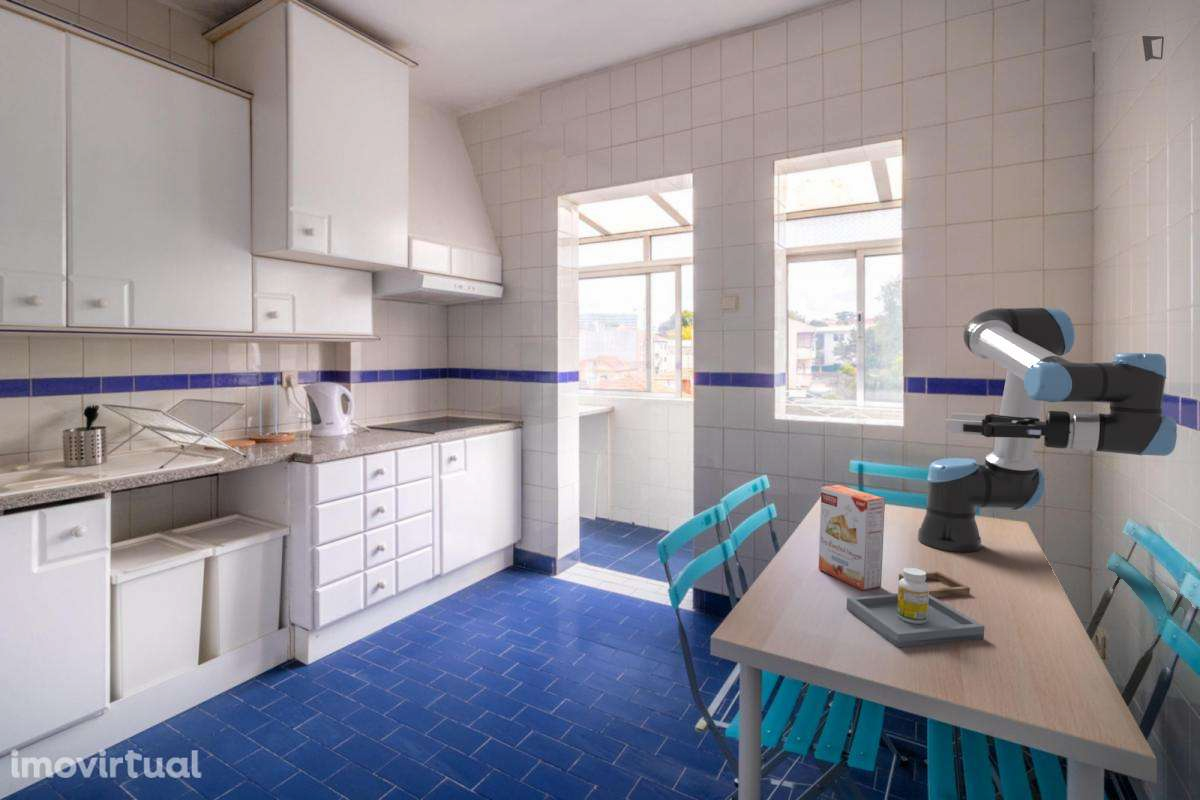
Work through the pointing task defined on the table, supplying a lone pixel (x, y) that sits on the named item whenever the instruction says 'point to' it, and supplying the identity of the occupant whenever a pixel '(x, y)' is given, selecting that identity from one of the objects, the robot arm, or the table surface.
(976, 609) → the table surface
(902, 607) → the supplement bottle
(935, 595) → the bottle holder
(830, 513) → the cracker box
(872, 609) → the tray
